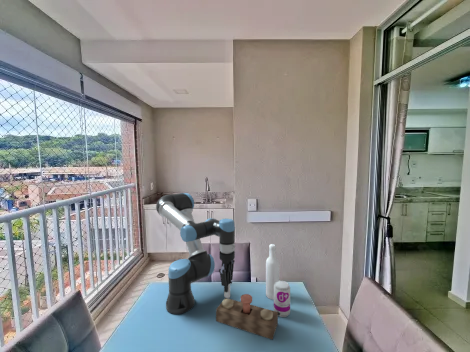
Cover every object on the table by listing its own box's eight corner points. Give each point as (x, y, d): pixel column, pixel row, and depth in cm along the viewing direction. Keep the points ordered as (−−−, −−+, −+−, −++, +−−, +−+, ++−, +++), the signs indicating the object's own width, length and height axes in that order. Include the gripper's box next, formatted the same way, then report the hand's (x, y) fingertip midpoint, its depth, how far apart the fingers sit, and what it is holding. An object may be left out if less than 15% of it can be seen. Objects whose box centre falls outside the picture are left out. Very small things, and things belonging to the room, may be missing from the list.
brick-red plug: (238, 313, 103) (238, 299, 103) (243, 306, 108) (243, 293, 108) (249, 317, 101) (249, 302, 101) (254, 309, 106) (253, 295, 106)
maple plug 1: (220, 317, 108) (220, 304, 107) (225, 310, 113) (225, 297, 112) (230, 320, 105) (230, 307, 105) (235, 313, 111) (235, 300, 110)
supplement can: (290, 319, 107) (290, 289, 106) (273, 316, 109) (273, 287, 108) (289, 308, 115) (289, 280, 114) (274, 306, 117) (273, 279, 116)
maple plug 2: (259, 330, 99) (259, 315, 99) (262, 321, 105) (262, 307, 104) (271, 333, 97) (271, 318, 97) (274, 325, 102) (274, 310, 102)
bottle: (280, 293, 129) (280, 243, 127) (278, 301, 121) (278, 248, 119) (267, 290, 131) (266, 241, 130) (264, 298, 124) (264, 246, 122)
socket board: (216, 321, 106) (215, 309, 106) (225, 308, 115) (225, 297, 115) (272, 339, 95) (272, 326, 94) (277, 324, 104) (277, 312, 103)
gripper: (228, 257, 100) (228, 306, 101) (239, 247, 112) (239, 291, 113) (213, 254, 103) (214, 302, 105) (226, 244, 115) (226, 288, 116)
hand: (227, 296), depth 109 cm, fingers closed
